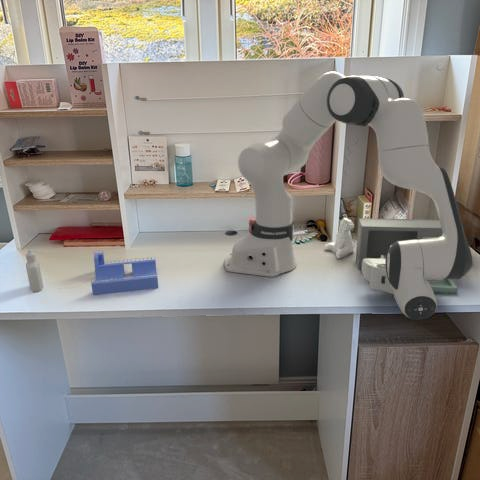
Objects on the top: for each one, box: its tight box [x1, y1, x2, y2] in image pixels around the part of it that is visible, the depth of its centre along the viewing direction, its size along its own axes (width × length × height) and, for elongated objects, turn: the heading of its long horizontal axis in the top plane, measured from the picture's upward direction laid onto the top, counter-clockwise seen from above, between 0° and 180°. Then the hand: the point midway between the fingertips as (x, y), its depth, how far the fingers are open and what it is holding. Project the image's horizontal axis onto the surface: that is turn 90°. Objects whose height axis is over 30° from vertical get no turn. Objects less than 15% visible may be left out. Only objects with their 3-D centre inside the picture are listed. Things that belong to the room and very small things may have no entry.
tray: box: [428, 279, 458, 295], centre depth 132 cm, size 11×11×2 cm
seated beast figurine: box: [324, 217, 355, 259], centre depth 154 cm, size 10×9×12 cm
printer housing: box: [355, 217, 443, 271], centre depth 142 cm, size 28×8×14 cm, turn 83°
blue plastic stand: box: [90, 250, 159, 296], centre depth 138 cm, size 18×16×7 cm
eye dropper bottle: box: [25, 248, 44, 293], centre depth 132 cm, size 4×6×12 cm
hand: (395, 257), depth 133 cm, fingers closed on supplement bottle, 5 cm apart
